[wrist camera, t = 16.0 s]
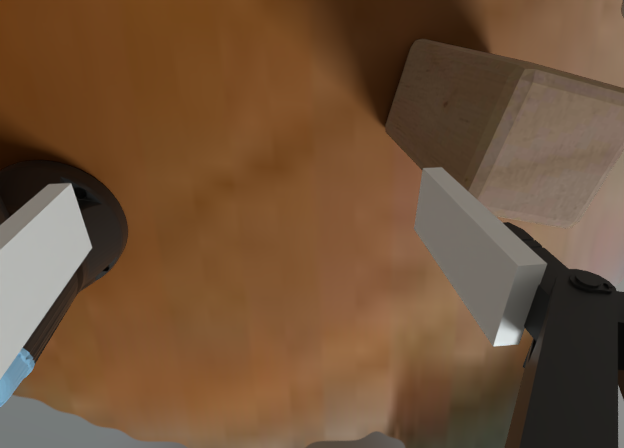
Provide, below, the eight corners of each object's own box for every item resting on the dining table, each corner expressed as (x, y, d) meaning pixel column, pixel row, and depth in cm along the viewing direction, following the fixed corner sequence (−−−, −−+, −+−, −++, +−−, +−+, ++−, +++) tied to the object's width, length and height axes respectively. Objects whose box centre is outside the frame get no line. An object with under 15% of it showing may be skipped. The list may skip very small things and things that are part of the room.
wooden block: (410, 35, 40) (526, 60, 22) (497, 59, 42) (664, 98, 24) (380, 131, 44) (456, 214, 27) (459, 148, 46) (577, 236, 29)
